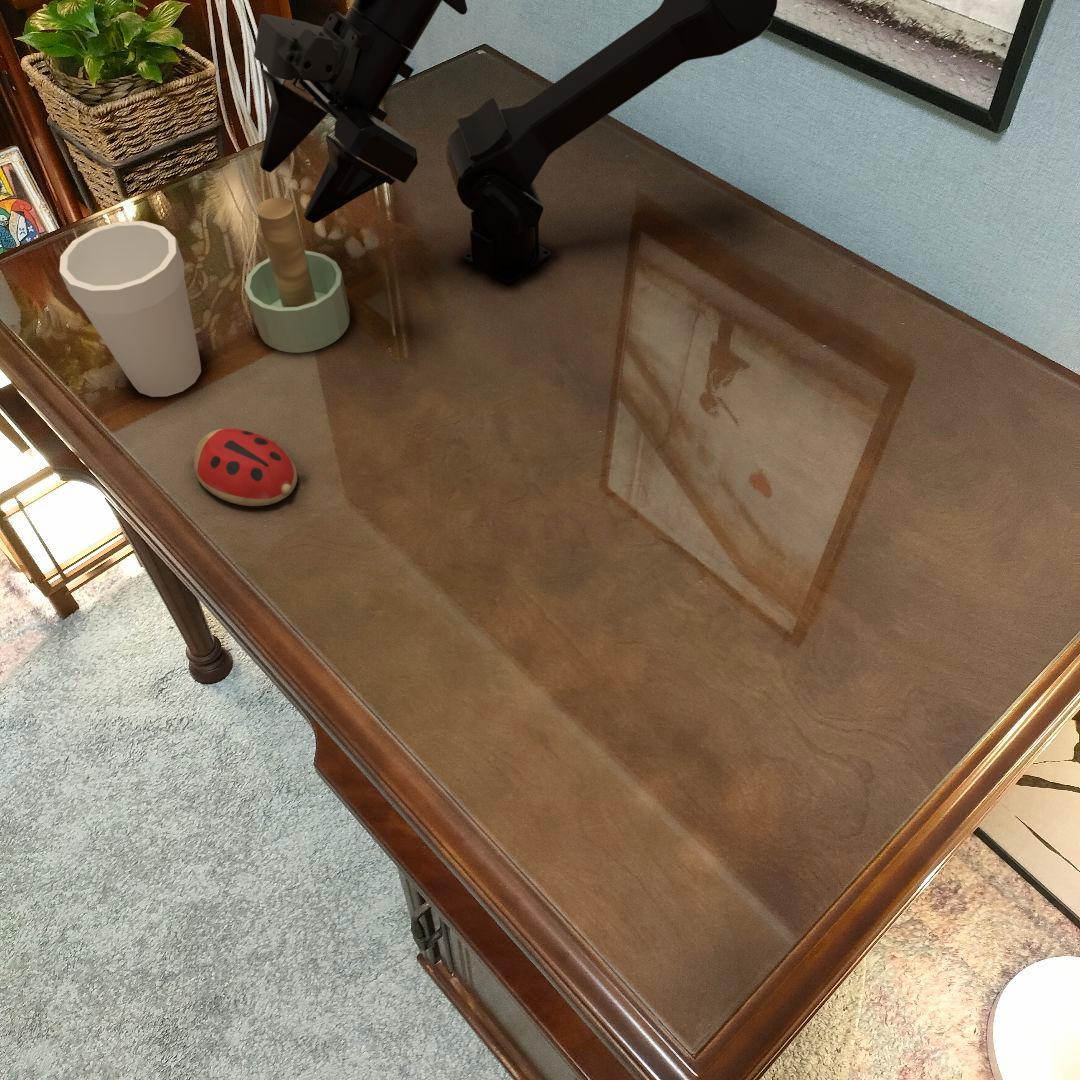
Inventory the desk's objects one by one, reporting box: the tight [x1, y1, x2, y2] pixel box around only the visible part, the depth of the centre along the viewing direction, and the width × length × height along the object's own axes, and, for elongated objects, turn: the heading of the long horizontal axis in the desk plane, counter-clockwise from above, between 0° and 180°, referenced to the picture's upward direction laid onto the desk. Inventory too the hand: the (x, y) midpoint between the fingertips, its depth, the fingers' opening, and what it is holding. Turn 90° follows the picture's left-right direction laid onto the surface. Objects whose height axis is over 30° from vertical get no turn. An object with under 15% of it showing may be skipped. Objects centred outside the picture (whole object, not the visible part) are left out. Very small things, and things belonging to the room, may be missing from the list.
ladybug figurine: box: [193, 428, 298, 507], centre depth 84 cm, size 7×10×4 cm
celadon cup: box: [244, 250, 351, 354], centre depth 96 cm, size 9×9×5 cm
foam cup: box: [59, 220, 202, 398], centre depth 89 cm, size 10×9×13 cm
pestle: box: [256, 197, 316, 307], centre depth 93 cm, size 3×3×12 cm
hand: (286, 194), depth 88 cm, fingers open, 9 cm apart
